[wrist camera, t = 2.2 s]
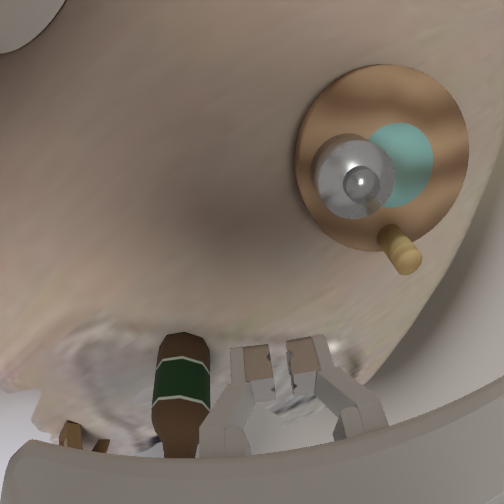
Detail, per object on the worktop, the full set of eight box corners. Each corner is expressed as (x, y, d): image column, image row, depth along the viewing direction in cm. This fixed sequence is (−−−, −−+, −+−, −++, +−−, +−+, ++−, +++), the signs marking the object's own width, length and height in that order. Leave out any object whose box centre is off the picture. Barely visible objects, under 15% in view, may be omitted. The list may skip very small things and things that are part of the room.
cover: (308, 135, 24) (322, 147, 21) (382, 132, 24) (404, 145, 21) (311, 207, 28) (322, 229, 25) (377, 200, 28) (395, 220, 25)
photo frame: (59, 434, 71) (50, 497, 51) (66, 419, 62) (55, 497, 42) (98, 448, 77) (93, 510, 57) (114, 436, 68) (108, 512, 48)
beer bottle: (220, 349, 45) (227, 503, 25) (184, 366, 47) (181, 506, 27) (184, 323, 41) (177, 496, 21) (149, 343, 43) (132, 496, 23)
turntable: (286, 61, 22) (308, 61, 16) (463, 77, 22) (508, 89, 16) (297, 252, 33) (312, 295, 28) (443, 231, 34) (473, 263, 28)
